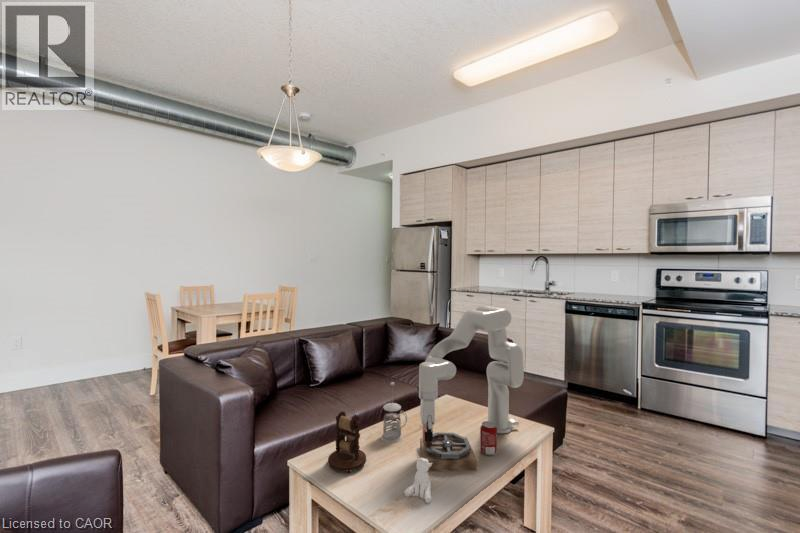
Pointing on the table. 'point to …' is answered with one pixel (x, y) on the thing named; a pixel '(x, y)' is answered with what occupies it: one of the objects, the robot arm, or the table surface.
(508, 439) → the table surface
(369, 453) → the table surface
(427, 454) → the block
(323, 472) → the table surface
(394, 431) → the french press
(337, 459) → the scroll
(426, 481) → the sitting furry creature
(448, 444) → the handwheel
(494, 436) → the soda can
